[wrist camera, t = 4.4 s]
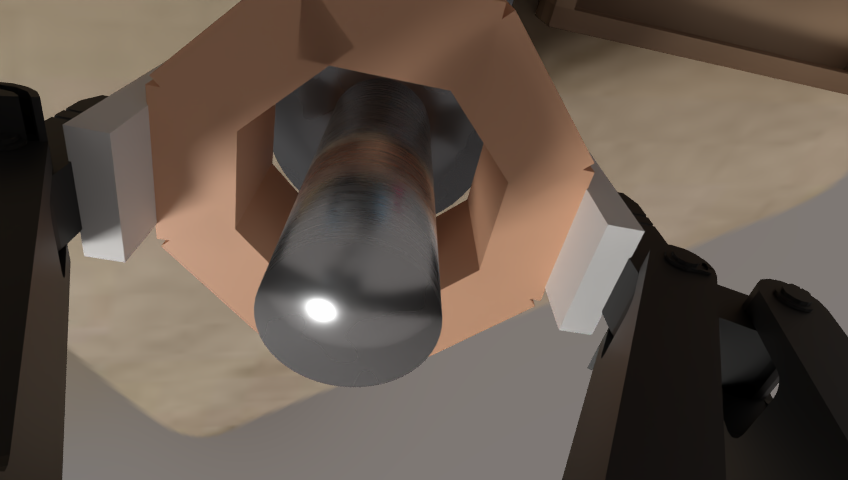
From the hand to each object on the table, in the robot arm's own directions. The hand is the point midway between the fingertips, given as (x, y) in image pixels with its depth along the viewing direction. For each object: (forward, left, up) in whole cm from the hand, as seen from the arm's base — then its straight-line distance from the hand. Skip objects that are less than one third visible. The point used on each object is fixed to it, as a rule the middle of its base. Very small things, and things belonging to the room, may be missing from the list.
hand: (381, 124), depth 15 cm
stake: (0, 0, -7) cm, 7 cm away
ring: (0, 0, +2) cm, 2 cm away
